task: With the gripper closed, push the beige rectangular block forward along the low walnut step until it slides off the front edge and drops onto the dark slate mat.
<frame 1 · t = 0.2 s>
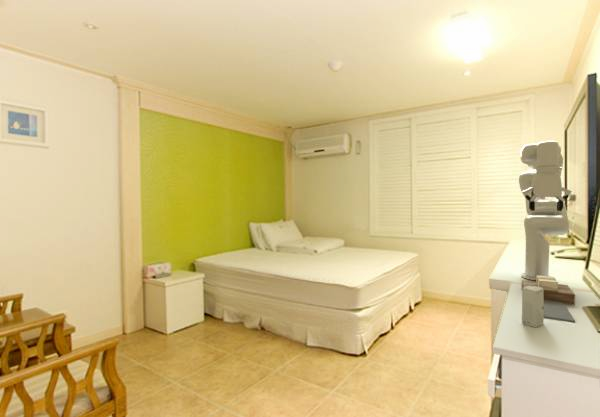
hand: (545, 210, 139), 35 cm above the table, tool pointing down, fingers open, 9 cm apart
mat: (548, 309, 120), on the table
beige rectangular block: (546, 287, 134), point 4 cm above the table, touching step
step: (546, 296, 135), on the table
skincare box: (532, 323, 109), on the table
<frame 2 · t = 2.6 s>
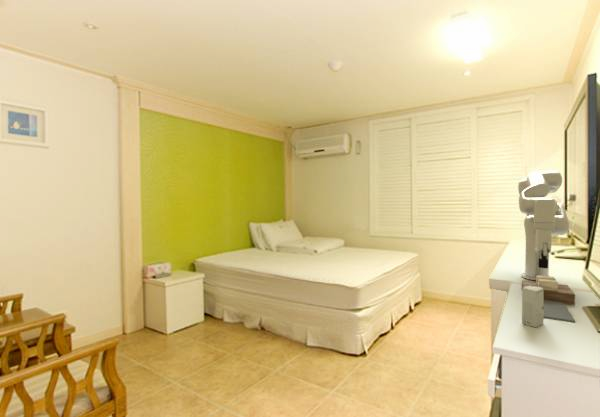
hand: (543, 267, 143), 10 cm above the table, tool pointing down, fingers closed
nothing on the table moved.
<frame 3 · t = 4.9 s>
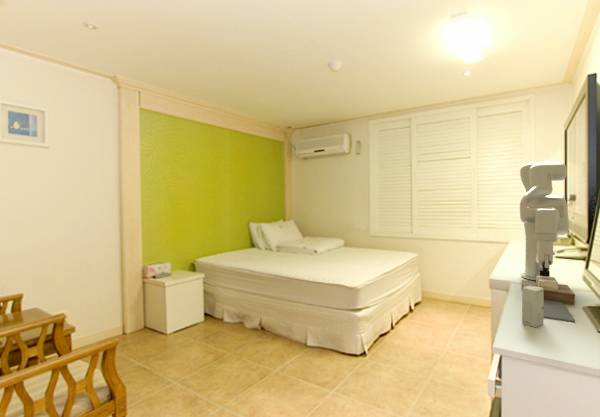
hand: (544, 279, 139), 6 cm above the table, tool pointing down, fingers closed
beige rectangular block: (546, 287, 134), point 4 cm above the table, touching gripper, step
everything else where it was.
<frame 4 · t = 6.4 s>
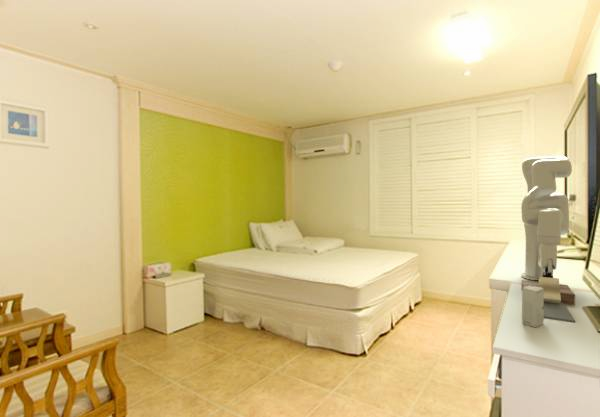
hand: (547, 284, 132), 6 cm above the table, tool pointing down, fingers closed
beige rectangular block: (548, 291, 128), point 4 cm above the table, tilted 51°, touching gripper, mat
everything else where it was.
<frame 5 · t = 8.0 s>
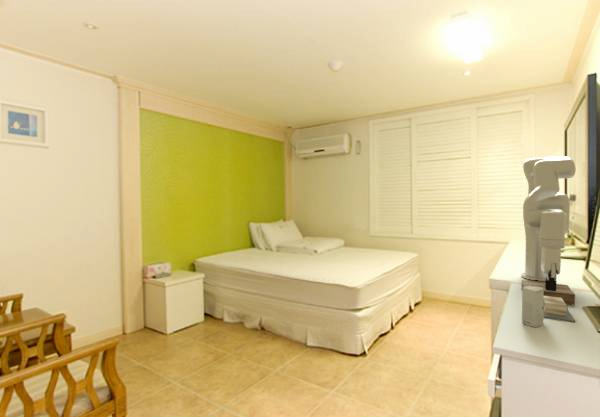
hand: (550, 290, 125), 6 cm above the table, tool pointing down, fingers closed
beige rectangular block: (553, 300, 119), point 4 cm above the table, tilted 180°, touching mat
everything else where it was.
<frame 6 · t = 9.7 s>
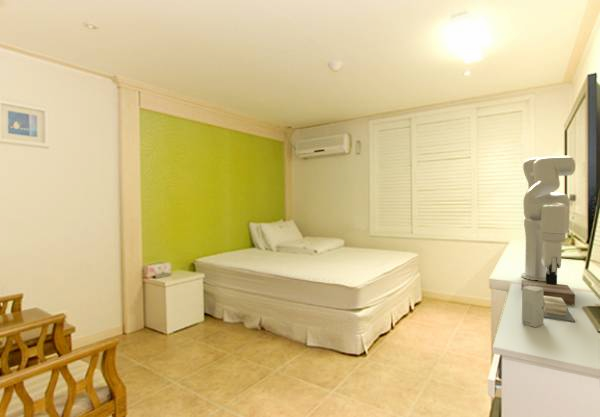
hand: (551, 284, 125), 8 cm above the table, tool pointing down, fingers closed
nothing on the table moved.
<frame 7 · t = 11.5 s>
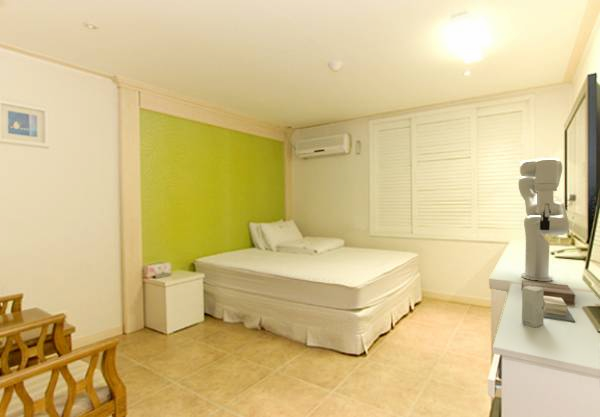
hand: (544, 229, 141), 27 cm above the table, tool pointing down, fingers closed
nothing on the table moved.
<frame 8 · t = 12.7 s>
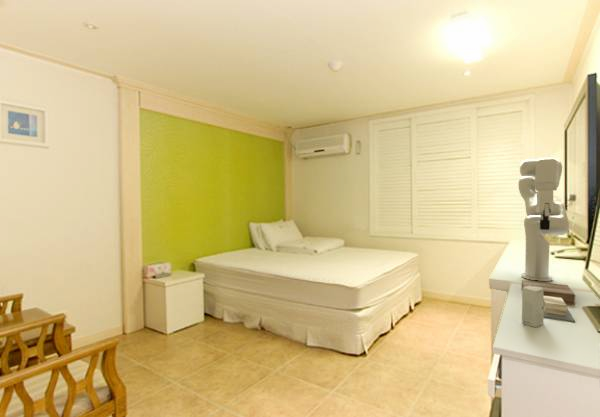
hand: (544, 229, 141), 27 cm above the table, tool pointing down, fingers closed
nothing on the table moved.
at the end: beige rectangular block touching mat; beige rectangular block inside the target area on the mat (1.7 cm from its centre), point 4.1 cm above the mat's base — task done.
